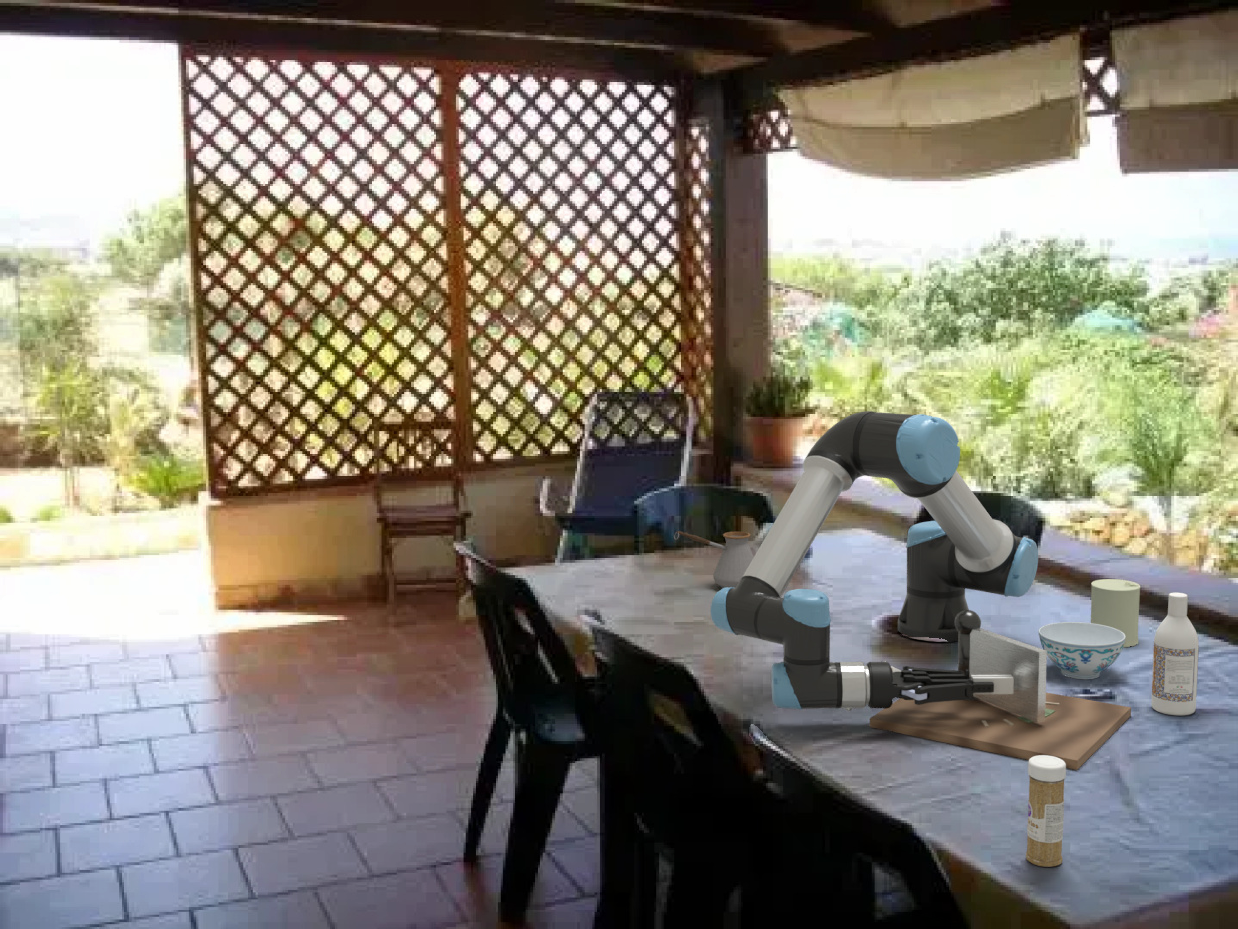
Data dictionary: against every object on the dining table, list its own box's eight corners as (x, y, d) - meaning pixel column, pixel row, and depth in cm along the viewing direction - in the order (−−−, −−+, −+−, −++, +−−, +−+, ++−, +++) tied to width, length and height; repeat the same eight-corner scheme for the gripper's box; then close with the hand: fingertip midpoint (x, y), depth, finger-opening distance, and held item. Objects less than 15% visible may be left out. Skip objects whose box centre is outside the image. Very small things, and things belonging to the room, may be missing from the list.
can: (1142, 648, 257) (1144, 588, 255) (1092, 646, 259) (1094, 587, 257) (1134, 635, 266) (1136, 577, 264) (1086, 633, 267) (1087, 576, 266)
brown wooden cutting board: (869, 727, 218) (869, 716, 218) (938, 681, 240) (938, 671, 240) (1077, 770, 198) (1077, 758, 198) (1130, 716, 220) (1131, 705, 220)
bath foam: (1159, 700, 227) (1163, 587, 224) (1201, 708, 223) (1206, 593, 220) (1145, 711, 222) (1149, 595, 219) (1188, 719, 218) (1193, 602, 215)
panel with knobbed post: (948, 690, 228) (949, 609, 226) (967, 685, 230) (969, 605, 228) (1030, 724, 211) (1033, 637, 209) (1051, 719, 213) (1053, 633, 211)
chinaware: (1068, 690, 233) (1070, 648, 232) (1021, 666, 248) (1022, 626, 247) (1141, 681, 237) (1143, 640, 236) (1091, 658, 252) (1092, 618, 250)
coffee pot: (749, 579, 319) (749, 518, 316) (770, 590, 308) (769, 527, 306) (667, 588, 312) (665, 526, 310) (685, 600, 301) (683, 535, 299)
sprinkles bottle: (1019, 854, 171) (1021, 755, 169) (1052, 851, 172) (1054, 752, 169) (1036, 870, 166) (1039, 769, 164) (1070, 866, 167) (1073, 765, 165)
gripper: (860, 694, 223) (1001, 693, 222) (871, 721, 210) (1021, 720, 209) (861, 651, 222) (1002, 650, 221) (872, 675, 209) (1023, 675, 208)
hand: (1011, 684), depth 215 cm, fingers closed
